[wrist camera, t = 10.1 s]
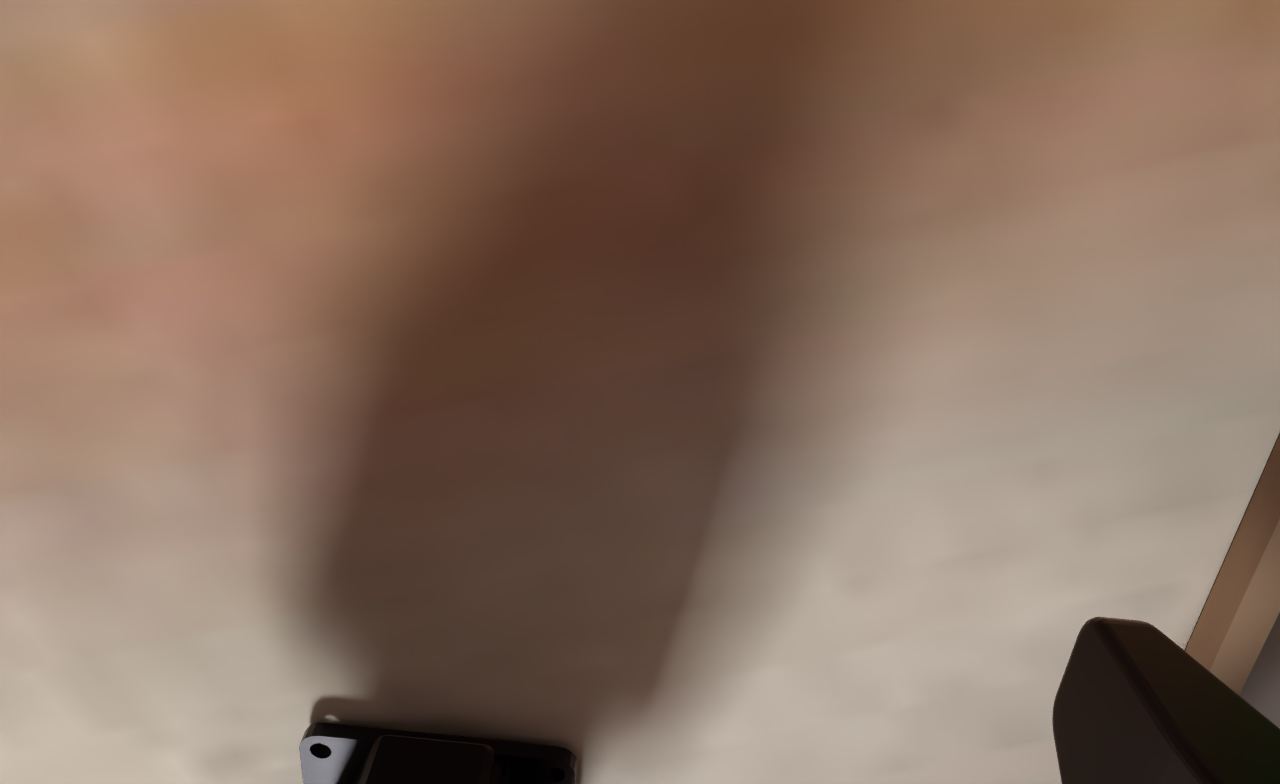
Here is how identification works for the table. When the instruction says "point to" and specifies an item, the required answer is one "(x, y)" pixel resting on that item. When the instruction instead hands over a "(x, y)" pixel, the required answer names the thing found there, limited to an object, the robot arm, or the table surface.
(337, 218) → the table surface
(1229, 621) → the track base
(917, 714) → the table surface
